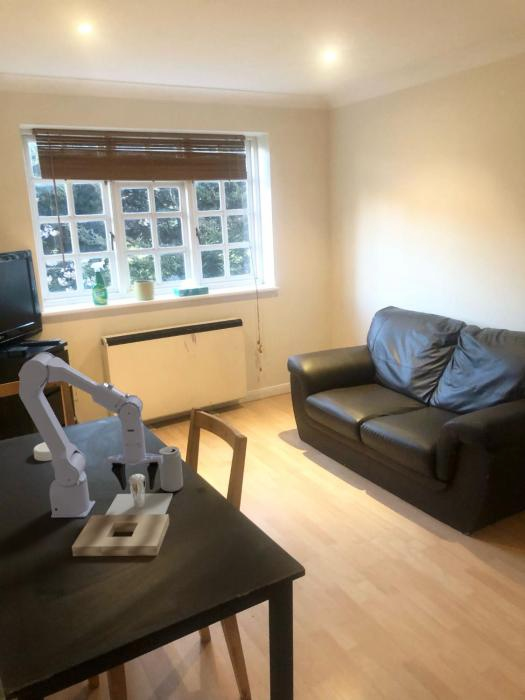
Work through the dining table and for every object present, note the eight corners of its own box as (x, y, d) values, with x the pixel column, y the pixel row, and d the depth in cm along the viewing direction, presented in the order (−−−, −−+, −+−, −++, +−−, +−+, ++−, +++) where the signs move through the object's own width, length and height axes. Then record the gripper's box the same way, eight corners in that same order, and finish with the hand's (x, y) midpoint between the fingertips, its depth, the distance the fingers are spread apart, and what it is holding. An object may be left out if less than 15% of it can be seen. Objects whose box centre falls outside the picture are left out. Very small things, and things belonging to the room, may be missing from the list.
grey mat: (104, 517, 145) (104, 516, 145) (117, 495, 157) (117, 494, 156) (164, 516, 144) (164, 515, 144) (173, 494, 156) (172, 493, 156)
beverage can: (178, 494, 156) (175, 455, 153) (157, 492, 157) (154, 453, 155) (186, 483, 162) (183, 445, 159) (165, 482, 163) (162, 444, 161)
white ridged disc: (33, 453, 189) (32, 443, 188) (63, 447, 193) (62, 438, 192) (35, 464, 180) (33, 454, 179) (67, 457, 184) (65, 448, 183)
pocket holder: (73, 556, 128) (71, 546, 128) (93, 523, 142) (92, 515, 141) (157, 555, 128) (156, 545, 127) (169, 522, 141) (168, 514, 141)
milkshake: (136, 513, 146) (132, 479, 143) (128, 505, 150) (125, 471, 148) (152, 508, 148) (148, 474, 146) (144, 500, 152) (141, 467, 150)
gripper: (102, 448, 142) (107, 495, 146) (157, 447, 142) (161, 494, 145) (110, 437, 149) (115, 483, 152) (163, 436, 149) (166, 482, 152)
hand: (138, 488), depth 149 cm, fingers open, 7 cm apart
